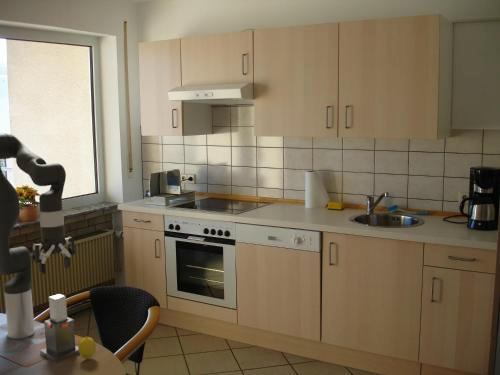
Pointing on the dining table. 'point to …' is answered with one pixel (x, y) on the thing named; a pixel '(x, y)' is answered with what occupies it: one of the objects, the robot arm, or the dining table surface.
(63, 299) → the column
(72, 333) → the stand base
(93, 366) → the dining table surface
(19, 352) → the dining table surface
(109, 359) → the dining table surface
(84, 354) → the lemon
